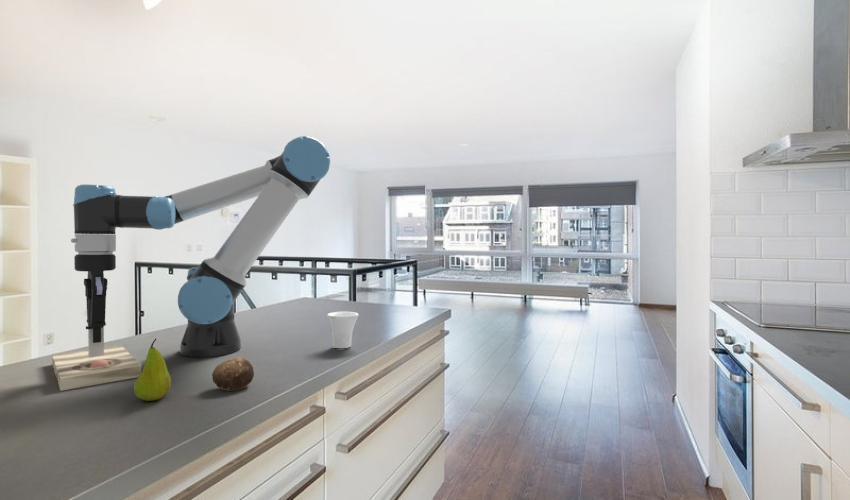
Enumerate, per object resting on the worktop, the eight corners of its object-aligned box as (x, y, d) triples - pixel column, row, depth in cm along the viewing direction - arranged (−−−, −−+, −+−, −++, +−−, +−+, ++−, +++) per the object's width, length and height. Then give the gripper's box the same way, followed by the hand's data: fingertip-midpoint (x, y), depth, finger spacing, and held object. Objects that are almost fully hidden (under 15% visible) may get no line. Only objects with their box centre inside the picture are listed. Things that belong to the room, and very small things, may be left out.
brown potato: (223, 364, 97) (227, 345, 94) (257, 377, 98) (262, 359, 95) (202, 392, 91) (206, 373, 87) (239, 406, 91) (244, 387, 88)
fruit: (146, 393, 88) (146, 334, 88) (178, 393, 88) (177, 334, 88) (126, 405, 82) (126, 341, 81) (160, 405, 82) (160, 342, 82)
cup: (320, 349, 124) (320, 314, 124) (338, 342, 133) (338, 309, 132) (346, 352, 121) (347, 317, 120) (363, 345, 129) (364, 311, 129)
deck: (52, 364, 106) (52, 354, 106) (121, 354, 116) (121, 345, 116) (60, 390, 89) (60, 378, 89) (141, 376, 98) (141, 365, 98)
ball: (110, 376, 100) (114, 361, 101) (99, 372, 97) (104, 356, 98) (94, 377, 100) (99, 362, 101) (83, 373, 97) (89, 357, 98)
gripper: (71, 252, 102) (72, 352, 102) (77, 254, 92) (78, 365, 93) (110, 252, 107) (111, 347, 108) (120, 254, 97) (121, 358, 98)
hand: (96, 355), depth 100 cm, fingers closed
